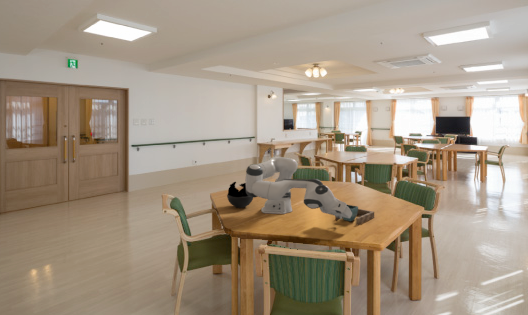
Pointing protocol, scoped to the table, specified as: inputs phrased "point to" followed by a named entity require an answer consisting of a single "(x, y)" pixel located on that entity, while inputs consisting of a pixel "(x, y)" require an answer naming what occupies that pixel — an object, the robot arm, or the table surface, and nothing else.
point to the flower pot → (354, 213)
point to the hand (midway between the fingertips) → (339, 217)
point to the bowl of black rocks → (238, 196)
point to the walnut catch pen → (362, 216)
